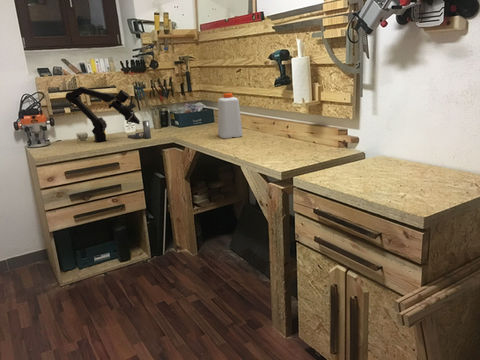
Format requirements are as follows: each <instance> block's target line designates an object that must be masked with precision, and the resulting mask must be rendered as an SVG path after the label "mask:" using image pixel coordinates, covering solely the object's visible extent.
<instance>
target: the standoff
mask: <svg viewBox="0 0 480 360" xmlns="http://www.w3.org/2000/svg"><path fill="white" fill-rule="evenodd" d="M141 123H142V129H143V132H144V138H143V139H145V140H149V138H150V139H152V135H151V133H152V132H151V125H150V120H148V119H147V120H142V122H141Z"/></svg>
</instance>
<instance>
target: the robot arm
mask: <svg viewBox="0 0 480 360" xmlns="http://www.w3.org/2000/svg"><path fill="white" fill-rule="evenodd" d="M81 95H88V96H91V97H93V98H97V99H100V100H101V101H103V102H104V103H109V104H108V109H109V110H110V109H111V108H113V109H115V111H116V112H118V114H121V115H122V116H123V118H124V120H125V121H126V122H130V123H134V124H136V125H140V124H141V121H140V119H139V118H138V116H136V114H135V111H134V108H136V107H137V104H136V103H135V102H134V101H133V102H132V101H130V102H129V103H128V104H127V105H125V103H126V101H127V100H128V99H129V98H130V94H129V93H128V92H126V91H125V90H123V89H120V90H119V92H118V93H117V94H113V93H112V92H103V91H98V90H94V89H92V88H89V87H85V86H79V87H77V88H76V89H74V90H72V91H68V92H66V94H65V99H66V101H68V102H69V103H70V104H72V105H74V106H75V107H77V109H79V110H80V112H82V114H83V115H85V116H86V118H88V120H90V122H91V124H92V126H93V128H92V129H91V133H92V135H93V136H94V140H93V142H95V143H103V142H107V141H108V140H107V135H106V133H105V131H106V129H107V126H108V123H107V122H106V120H105V119H104V118H103V117H98V116H97V115H96V114H95V113H94V112H93V111H92V110H91V109H89V107H88V106H87V105H86V104H85V103H84V102H83V101H82V98H81V97H80V96H81Z"/></svg>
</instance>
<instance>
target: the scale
mask: <svg viewBox="0 0 480 360" xmlns="http://www.w3.org/2000/svg"><path fill="white" fill-rule="evenodd" d="M138 132H139V133H135V132H134V133H135V135H131V134H127V135H126V136H127V138H129V139H133V140H139V139H140V140H141V139H145V138H144V131H138Z"/></svg>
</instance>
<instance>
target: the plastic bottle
mask: <svg viewBox="0 0 480 360" xmlns="http://www.w3.org/2000/svg"><path fill="white" fill-rule="evenodd" d="M233 95H234V94H233V93H231V92H229V93H228V92H227V93H223V97H219V98H218V100H217V135H218V136H219V137H220V138H221V139H232V137H235V138H241V137H242V136H243V135H244V133H243V126H242V117H241V109H240V100H239V98H237V97H236V96H235V97H234V96H233Z"/></svg>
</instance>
